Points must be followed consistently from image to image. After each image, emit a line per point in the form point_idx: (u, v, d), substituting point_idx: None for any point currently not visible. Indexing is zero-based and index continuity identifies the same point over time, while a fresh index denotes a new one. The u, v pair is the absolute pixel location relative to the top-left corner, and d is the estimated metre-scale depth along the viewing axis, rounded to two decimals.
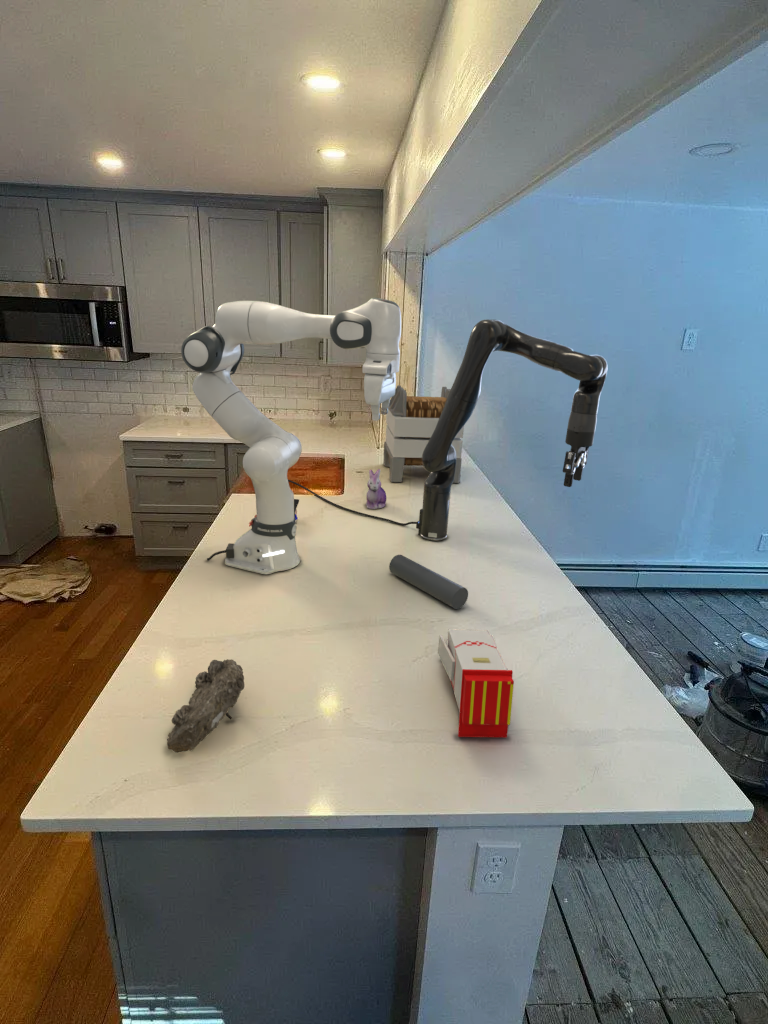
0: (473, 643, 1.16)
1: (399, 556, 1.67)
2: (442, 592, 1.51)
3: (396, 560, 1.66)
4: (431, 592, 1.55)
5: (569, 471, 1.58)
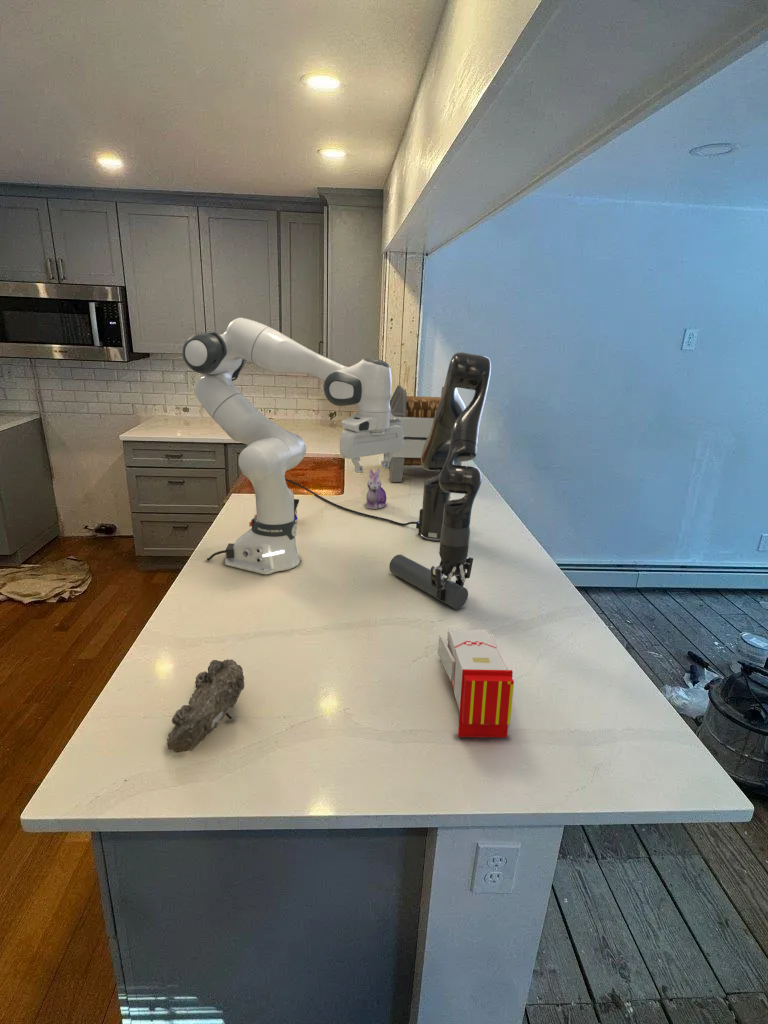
0: (473, 643, 1.16)
1: (399, 556, 1.67)
2: None
3: (396, 560, 1.66)
4: (431, 592, 1.55)
5: (436, 587, 1.48)
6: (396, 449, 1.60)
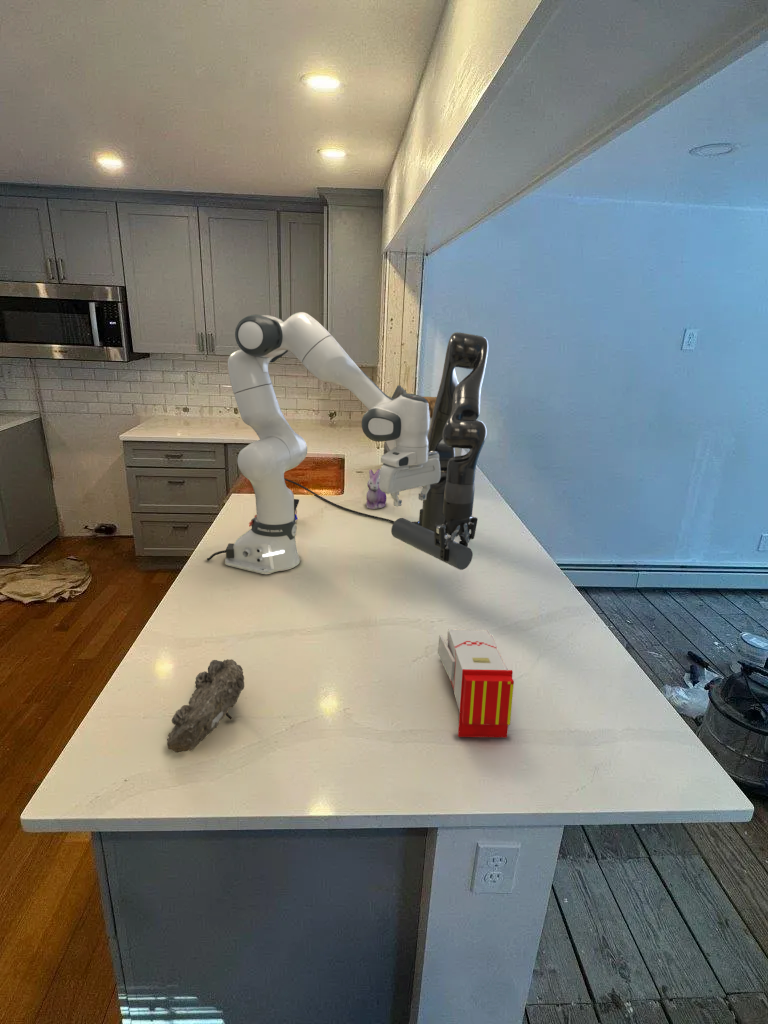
0: (473, 643, 1.16)
1: (401, 519, 1.63)
2: None
3: (398, 523, 1.62)
4: (434, 553, 1.51)
5: (439, 546, 1.44)
6: (433, 481, 1.60)
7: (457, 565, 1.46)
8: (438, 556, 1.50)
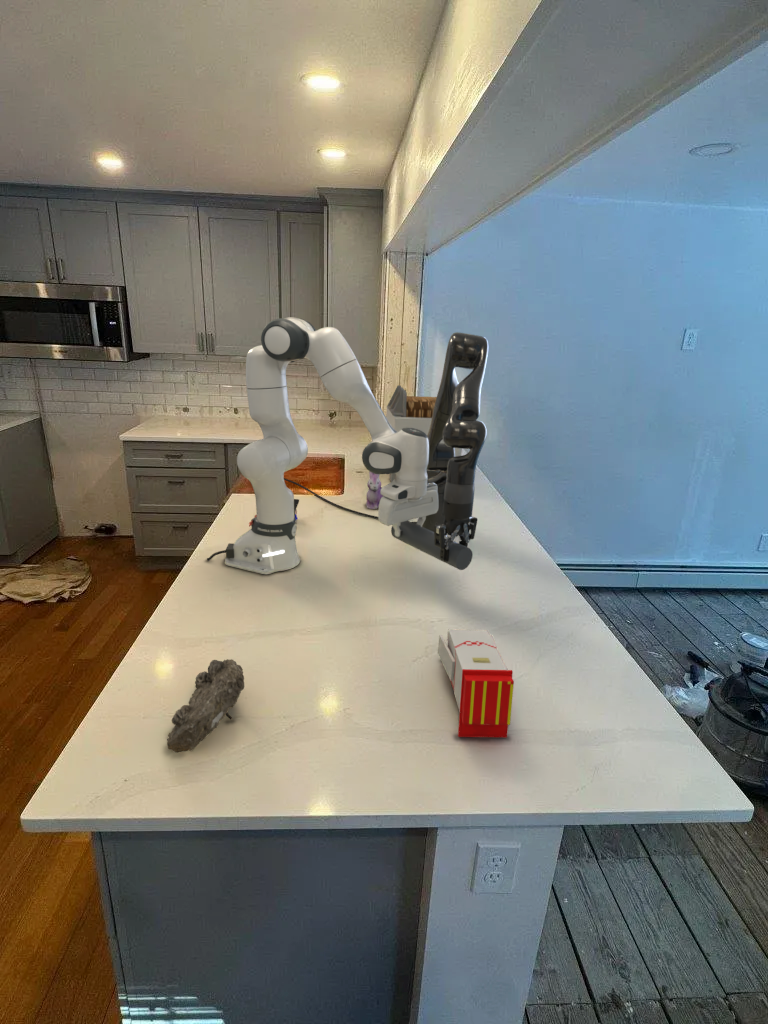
0: (473, 643, 1.16)
1: None
2: None
3: None
4: (434, 553, 1.51)
5: (439, 546, 1.44)
6: (431, 512, 1.64)
7: (457, 565, 1.46)
8: (438, 556, 1.50)
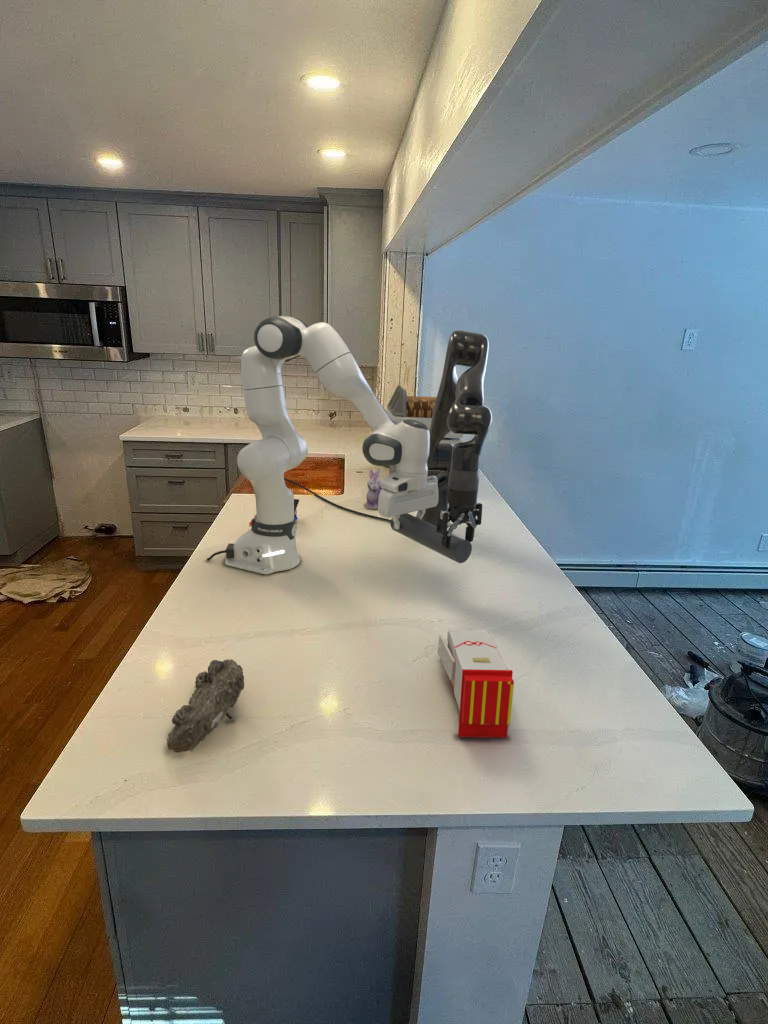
0: (473, 643, 1.16)
1: None
2: None
3: None
4: (433, 546, 1.50)
5: (441, 532, 1.41)
6: (431, 505, 1.63)
7: (456, 558, 1.45)
8: (437, 549, 1.49)
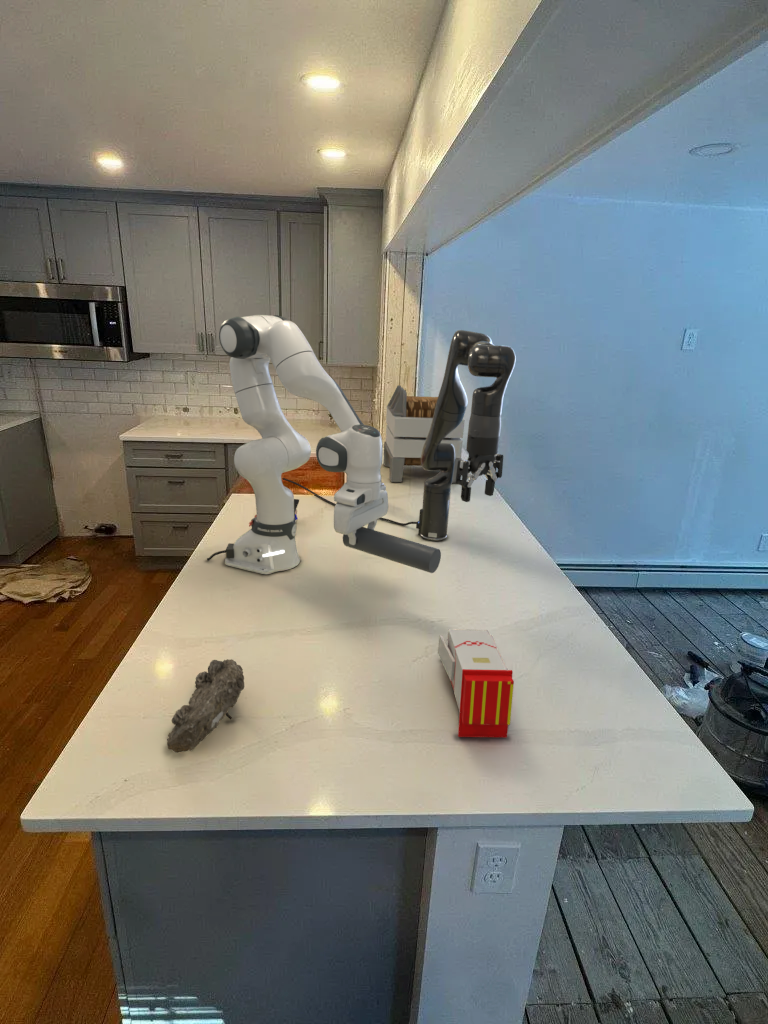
0: (473, 643, 1.16)
1: None
2: (415, 556, 1.38)
3: None
4: (401, 559, 1.40)
5: (461, 483, 1.33)
6: (382, 514, 1.52)
7: (429, 569, 1.37)
8: (405, 561, 1.40)
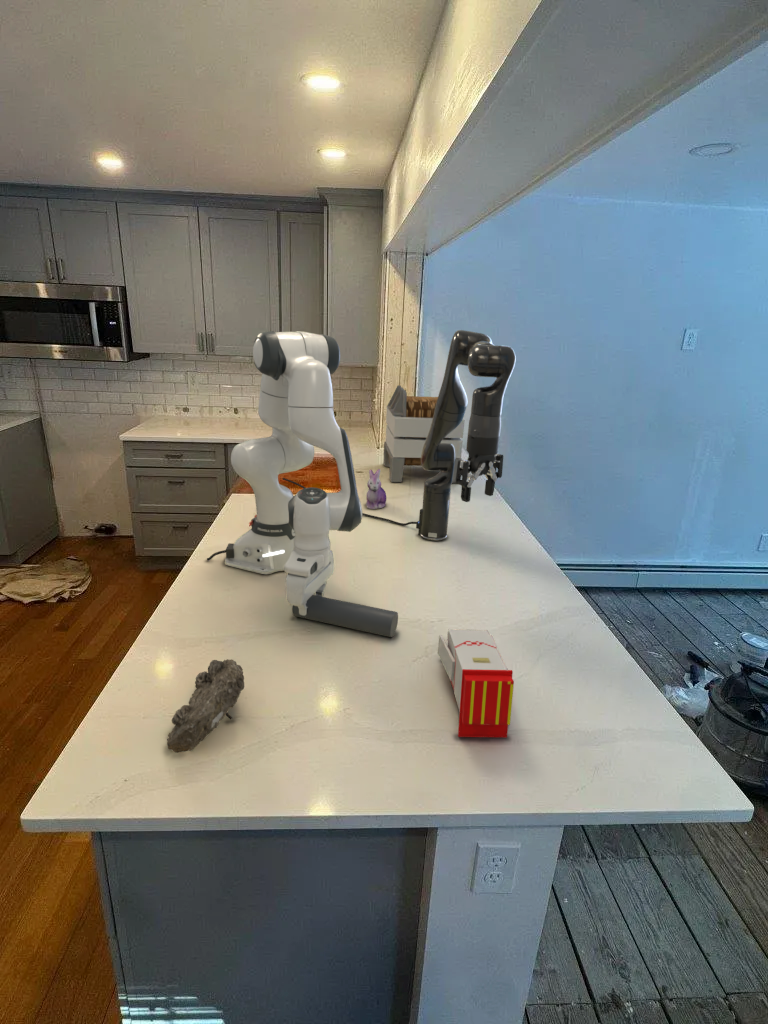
0: (473, 643, 1.16)
1: None
2: (375, 623, 1.35)
3: None
4: (359, 626, 1.37)
5: (461, 483, 1.33)
6: (330, 575, 1.47)
7: (390, 634, 1.35)
8: (364, 629, 1.36)
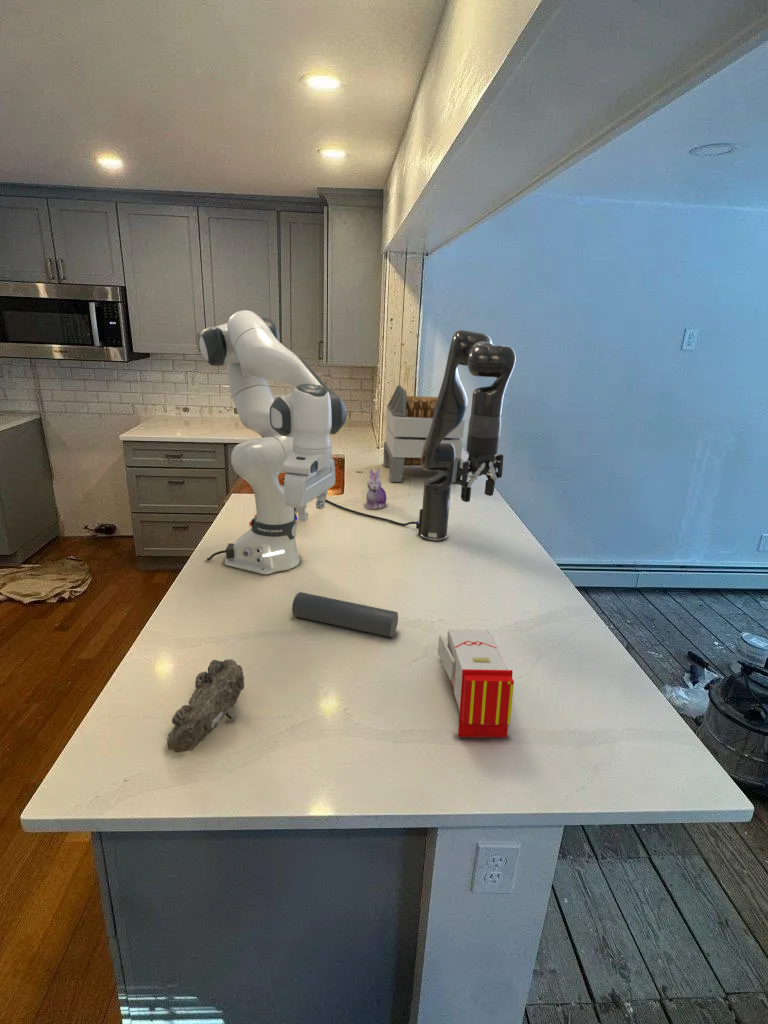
0: (473, 643, 1.16)
1: (301, 594, 1.42)
2: (375, 623, 1.35)
3: (300, 600, 1.41)
4: (359, 626, 1.37)
5: (461, 483, 1.33)
6: (331, 485, 1.38)
7: (390, 634, 1.35)
8: (364, 629, 1.36)
